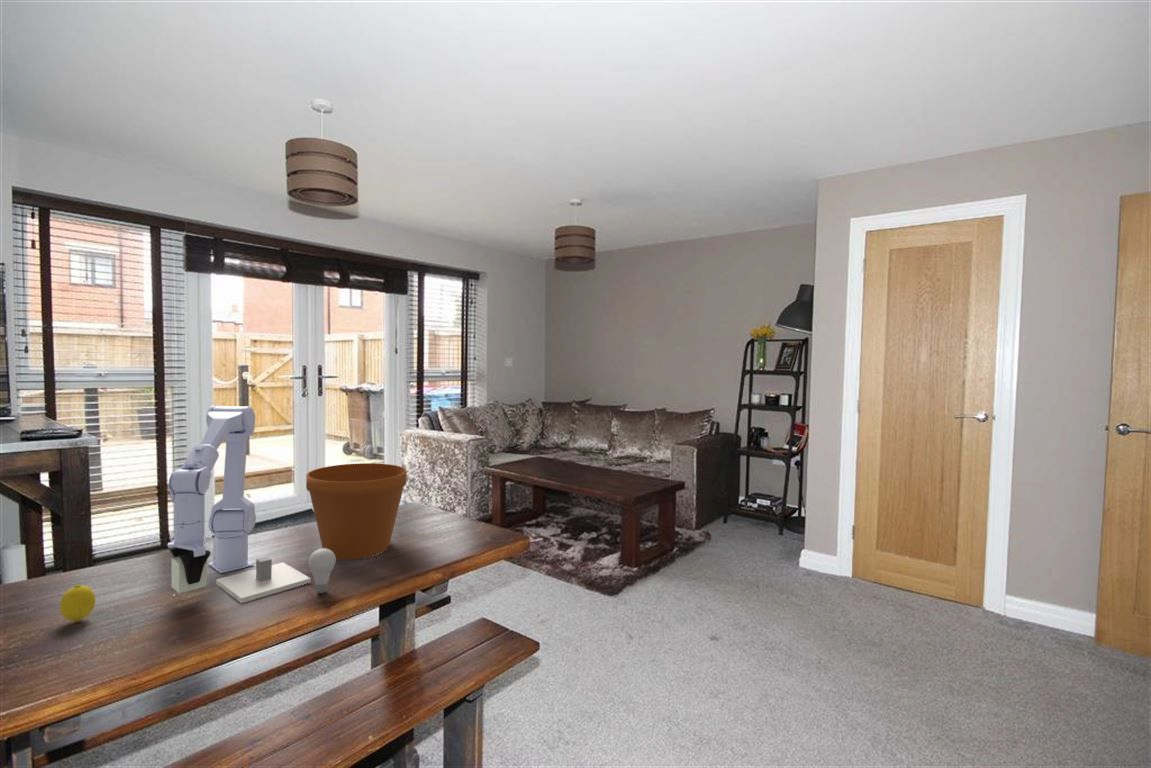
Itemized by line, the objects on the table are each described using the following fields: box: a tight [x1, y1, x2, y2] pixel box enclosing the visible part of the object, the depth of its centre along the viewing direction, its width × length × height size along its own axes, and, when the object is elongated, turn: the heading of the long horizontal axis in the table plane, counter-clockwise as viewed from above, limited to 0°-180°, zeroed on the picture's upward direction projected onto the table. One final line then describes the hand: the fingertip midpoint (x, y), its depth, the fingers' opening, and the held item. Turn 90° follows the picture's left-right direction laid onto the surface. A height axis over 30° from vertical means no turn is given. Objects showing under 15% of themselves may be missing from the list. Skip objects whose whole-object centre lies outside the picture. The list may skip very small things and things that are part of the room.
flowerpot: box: [305, 462, 408, 561], centre depth 163 cm, size 28×28×24 cm
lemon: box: [59, 584, 96, 623], centre depth 115 cm, size 6×6×8 cm
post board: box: [215, 556, 311, 604], centre depth 137 cm, size 16×16×6 cm
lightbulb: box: [307, 548, 337, 594], centre depth 132 cm, size 6×6×11 cm
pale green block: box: [170, 557, 208, 594], centre depth 124 cm, size 5×5×7 cm
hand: (189, 579), depth 124 cm, fingers closed on pale green block, 5 cm apart
